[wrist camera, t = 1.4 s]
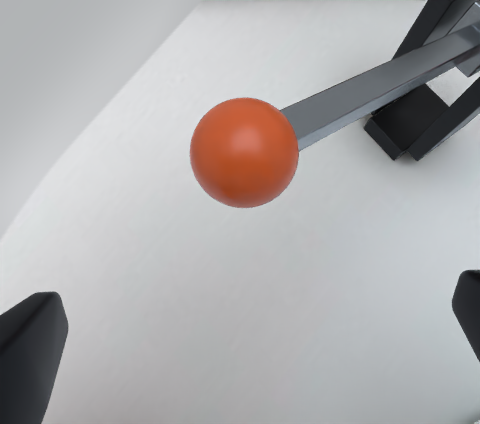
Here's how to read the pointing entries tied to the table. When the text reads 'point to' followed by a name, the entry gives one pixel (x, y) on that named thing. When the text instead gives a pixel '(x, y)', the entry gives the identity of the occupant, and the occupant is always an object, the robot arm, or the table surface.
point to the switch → (312, 119)
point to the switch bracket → (424, 94)
